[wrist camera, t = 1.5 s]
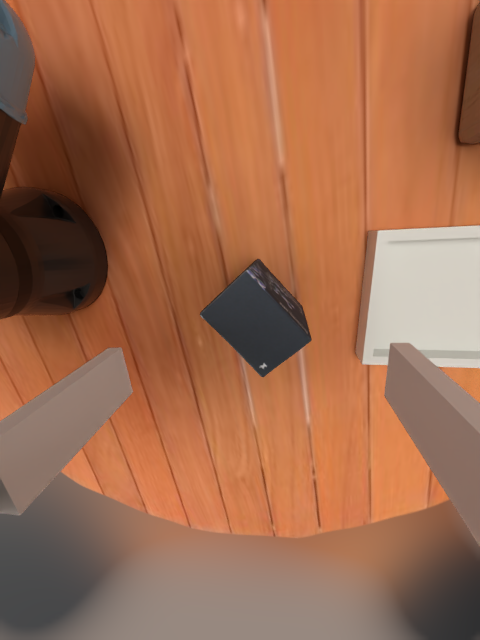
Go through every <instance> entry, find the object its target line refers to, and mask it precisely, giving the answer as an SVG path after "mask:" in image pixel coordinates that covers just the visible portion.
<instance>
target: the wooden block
mask: <svg viewBox="0 0 480 640" xmlns="http://www.w3.org/2000/svg"><path fill="white" fill-rule="evenodd" d="M459 139H460V142H464V143H469V144H474V143H480V2H479V4H478V6H477V9H476V11H475V14H474V17H473V25H472V33H471V41H470V49H469V56H468V64H467V72H466V80H465V88H464V95H463V103H462V111H461V119H460V127H459Z"/></svg>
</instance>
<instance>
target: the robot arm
mask: <svg viewBox="0 0 480 640" xmlns="http://www.w3.org/2000/svg"><path fill="white" fill-rule="evenodd" d="M34 66H35V55H34V49H33V45H32V41H31V39H30V36H29V34H28V32H27V30H26V28H25V26H24V25H23V23H22V21H21V20H20V18H19V17H18V15H17V14H16V13H15V11H14V10H13V9H12V8H11V7H10V5H9V4H8V3H7V2H6V1H5V0H0V319H4V318H7V317H10V316H14V315H62V314H68V313H71V312H74V311H77V310H79V309H82V308H84V307H86V306H88V305H90V304H91V303H92V302H93V301H95V300H96V298H97V297H98V296H99V294H100V293H101V291H102V289H103V287H104V284H105V281H106V276H107V258H106V252H105V248H104V245H103V242H102V239H101V237H100V234H99V232H98V231H97V229H96V227H95V225H94V224H93V222H92V221H91V219H90V218H89V217H88V216H87V214H86V213H85V212H84V211H83V210H82V209H81V208H80V207H79V206H78V205H76V204H75V203H74V202H72V201H71V200H70V199H68V198H66V197H65V196H63V195H60V194H58V193H55V192H52V191H48V190H43V189H37V188H31V187H16V188H10V189H6V190H3V188H4V184H5V180H6V177H7V173H8V169H9V165H10V162H11V158H12V154H13V150H14V147H15V143H16V139H17V136H18V132H19V129H20V125H21V123H22V124H25V125H26V123H27V120H28V116H27V114H26V112H25V110H26V105H27V101H28V96H29V91H30V86H31V81H32V76H33V71H34ZM132 393H133V390H132V386H131V382H130V378H129V375H128V371H127V367H126V363H125V359H124V355H123V351H122V348H108V349H106V350H105V351H103V352H102V353H100V354H99V355H97V356H96V357H94V358H93V359H91V360H90V361H88V362H87V363H86V364H84V365H83V366H81V367H80V368H78V369H77V370H75V371H74V372H72V373H71V374H69V375H68V376H66V377H65V378H63V379H62V380H60V381H59V382H58V383H56V384H55V385H53V386H52V387H50V388H49V389H47V390H46V391H44V392H43V393H41V394H40V395H38V396H37V397H35V398H34V399H32V400H31V401H30V402H28V403H27V404H25V405H24V406H22V407H21V408H19V409H18V410H16V411H15V412H13V413H12V414H10V415H9V416H7V417H6V418H4V419H3V420H2V421H0V513H3V514H13V515H21V514H22V513H23V512H24V510H25V509H26V508H27V507H28V506H29V505H30V504H31V503H32V502H33V501H34V500H35V499H36V497H37V496H38V495H39V494H40V493H41V492H42V491H43V490H44V489H45V488H46V486H47V485H48V484H49V483H50V482H51V481H52V480H53V479H54V478H55V477H56V475H57V474H58V473H59V472H60V471H61V470H62V469H63V468H64V467H65V466H66V465H67V464H68V463H69V461H70V460H71V459H72V458H73V457H74V456H75V455H76V454H77V453H78V452H79V450H80V449H81V448H82V447H83V446H84V445H85V444H86V443H87V442H88V441H89V440H90V438H91V437H92V436H93V435H94V434H95V433H96V432H97V431H98V430H99V429H100V428H101V426H102V425H103V424H104V423H105V422H106V421H107V420H108V419H109V418H110V417H111V416H112V414H113V413H114V412H115V411H116V410H117V409H118V408H119V407H120V406H121V405H122V404H123V402H124V401H125V400H126V399H127V398H128V397H129V396H130V395H131V394H132ZM384 396H385V398H386V399H387V401H388V402H389V404H390V405H391V407H392V409H393V410H394V412H395V413H396V415H397V417H398V418H399V420H400V421H401V423H402V424H403V426H404V428H405V429H406V431H407V432H408V434H409V435H410V437H411V439H412V440H413V442H414V443H415V445H416V447H417V448H418V450H419V451H420V453H421V454H422V456H423V458H424V459H425V461H426V462H427V464H428V466H429V467H430V469H431V470H432V472H433V473H434V475H435V477H436V478H437V480H438V481H439V483H440V484H441V486H442V488H443V489H444V491H445V492H446V494H447V496H448V497H449V499H450V500H451V502H452V503H453V505H454V506H455V508H456V510H457V511H458V513H459V514H460V516H461V518H462V519H463V521H464V522H465V524H466V526H467V527H468V529H469V530H470V532H471V533H472V535H473V537H474V538H475V540H476V541H477V543H478V544H479V546H480V403H479V402H478V401H476V400H475V399H474V398H473V397H472V396H471V395H470V394H468V393H467V392H466V391H465V390H464V389H463V388H461V387H460V386H459V385H458V384H457V383H456V382H454V381H453V380H452V379H451V378H450V377H449V376H447V375H446V374H445V373H444V372H443V371H442V370H441V369H439V368H438V367H437V366H436V365H435V364H434V363H432V362H431V361H430V360H429V359H428V358H427V357H425V356H424V355H423V354H422V353H421V352H420V351H418V350H417V349H416V348H415V347H414V346H413V345H412V344H410V343H390V350H389V359H388V368H387V377H386V386H385V395H384Z"/></svg>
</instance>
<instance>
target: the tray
mask: <svg viewBox="0 0 480 640" xmlns="http://www.w3.org/2000/svg"><path fill="white" fill-rule="evenodd" d="M390 343H410V344H412V345H413V346H414V347H415V348H416V349H417V350H418V351H420V352H421V353H422V354H423V355H424V356H425V357H427V358H428V359H429V360H430V361H431V362H432V363H434V364H435V365H436V366H437V367H464V368H480V225H475V226H455V227H435V228H415V229H395V230H375V231H368V240H367V249H366V258H365V268H364V277H363V286H362V296H361V305H360V314H359V324H358V333H357V343H356V352H355V353H356V355H357V357H358V358H359V360H360V362H361V363H362V364H370V365H388V359H389V350H390Z"/></svg>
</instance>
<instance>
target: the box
mask: <svg viewBox="0 0 480 640" xmlns="http://www.w3.org/2000/svg"><path fill="white" fill-rule="evenodd" d="M200 316H201V317H202V318H203V319H204V320H206V321H207V322H208V323H209V324H210V325H211V326H212V327H213V328H214V329H215V330H216V331H217V332H218V333H219V334H220V335H221V336H222V337H223V338H224V339H225V340H226V341H227V342H228V343H229V344H230V345H231V346H232V347H233V348H234V349H235V350H236V351H237V352H238V353H239V354H240V355H241V356H242V357H243V358H244V359H245V360H246V361H247V362H248V363H249V364H250V365H251V366H252V367H253V368H254V370H255V371H256V372H257V373H258V374H259V375H260V376H261V377H264V376H266V375H267V374H268V373H269V372H271V371H272V370H273V369H274V368H276V367H277V366H279V365H280V364H281V363H283V362H284V361H285V360H287V359H288V358H289V357H291V356H292V355H293V354H295V353H296V352H297V351H299V350H300V349H301V348H302V347H304V346H305V345H306V344H308V343H309V342H310V341H311V336H310V333H309V329H308V325H307V321H306V318H305V315H304V311H303V307H302V306H301V305H300V303H299V302H298V301H297V300H296V299H295V298H294V297H293V296H292V295H291V294H290V293H289V292H288V290H287V289H286V288H285V287H284V286H283V285H282V284H281V283H280V281H278V280H277V278H276V277H275V276H274V275H273V274H272V273H271V272H270V271H269V270H268V268H267V267H266V266H265V265H264V264H263V263H262V262H261V260H260V259H257V260H256V261H254V262H253V263H252V264H251V265H250V266H249V267H248V268H247V269H246V270H245V271H244V272H243V273H241V274H240V275H239V276H238V277H237V278H236V279H235V280H234V281H233V282H232V283H231V284H230V285H229V286H228V287H227V288H226V289H224V290H223V291H222V292H221V293H220V294H219V295H218V296H217V297H216V298H215V299H214V300H213V301H212V302H211V303H210V304H209V305H208V306H207V307H206V308H204V309H203V310H202V311H201V313H200Z"/></svg>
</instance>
